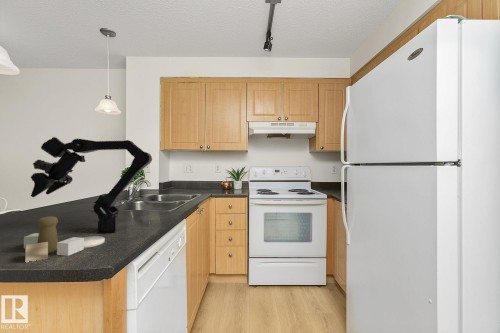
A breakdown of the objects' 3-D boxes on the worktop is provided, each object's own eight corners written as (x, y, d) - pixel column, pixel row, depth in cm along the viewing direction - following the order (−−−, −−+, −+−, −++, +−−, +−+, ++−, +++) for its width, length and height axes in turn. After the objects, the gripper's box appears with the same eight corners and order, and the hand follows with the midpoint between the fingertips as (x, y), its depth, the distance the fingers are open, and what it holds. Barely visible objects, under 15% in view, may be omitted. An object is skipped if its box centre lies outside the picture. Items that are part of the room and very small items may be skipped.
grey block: (73, 248, 83) (73, 237, 83) (83, 249, 82) (83, 237, 82) (56, 255, 77) (57, 242, 77) (68, 256, 76) (68, 243, 76)
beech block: (47, 254, 78) (47, 241, 78) (47, 259, 74) (47, 245, 74) (26, 257, 74) (26, 244, 74) (25, 263, 70) (25, 249, 70)
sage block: (47, 244, 87) (47, 233, 87) (37, 248, 83) (37, 236, 83) (34, 244, 87) (34, 233, 87) (23, 248, 82) (23, 236, 82)
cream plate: (108, 238, 95) (108, 235, 95) (98, 247, 84) (98, 244, 84) (76, 239, 92) (76, 237, 92) (61, 249, 82) (61, 246, 82)
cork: (44, 246, 84) (45, 215, 84) (63, 246, 84) (63, 215, 84) (30, 253, 78) (30, 218, 78) (50, 252, 78) (51, 218, 78)
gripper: (60, 153, 109) (36, 182, 107) (32, 151, 90) (2, 185, 89) (82, 168, 111) (59, 196, 109) (59, 169, 92) (31, 203, 90)
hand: (39, 195), depth 99 cm, fingers open, 9 cm apart
